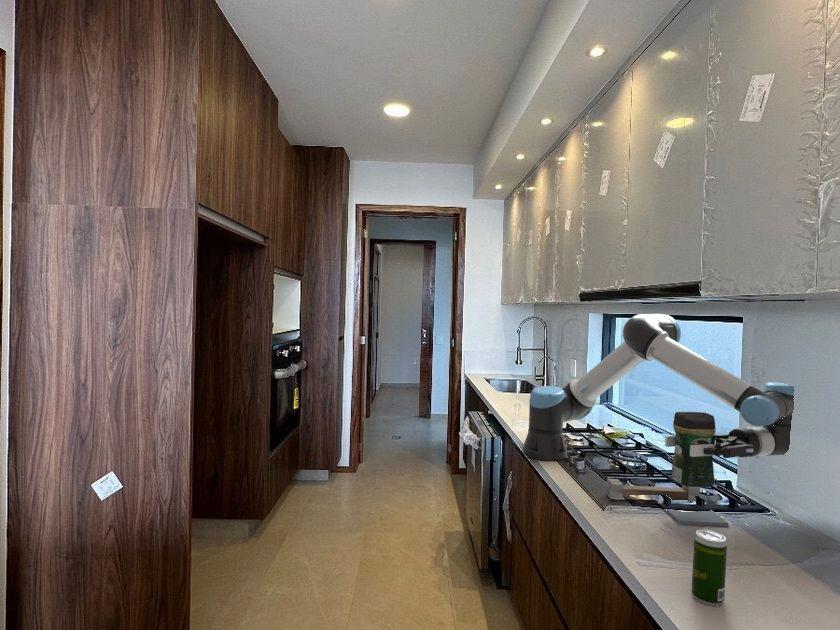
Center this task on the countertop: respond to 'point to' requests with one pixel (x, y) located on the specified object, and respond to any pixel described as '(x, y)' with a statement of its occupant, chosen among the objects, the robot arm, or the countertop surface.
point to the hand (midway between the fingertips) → (678, 445)
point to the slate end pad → (697, 518)
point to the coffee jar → (689, 432)
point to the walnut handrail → (651, 491)
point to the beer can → (709, 567)
